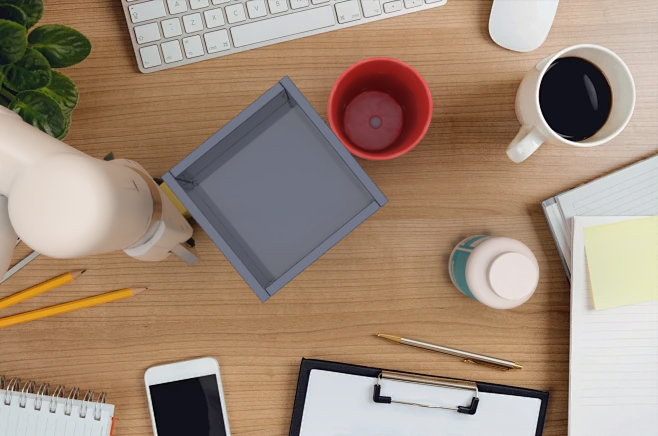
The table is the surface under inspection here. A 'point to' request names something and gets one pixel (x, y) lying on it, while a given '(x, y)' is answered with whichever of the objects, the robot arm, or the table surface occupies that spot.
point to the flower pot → (380, 108)
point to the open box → (274, 189)
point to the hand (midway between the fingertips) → (170, 209)
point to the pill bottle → (494, 270)
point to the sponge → (175, 200)
